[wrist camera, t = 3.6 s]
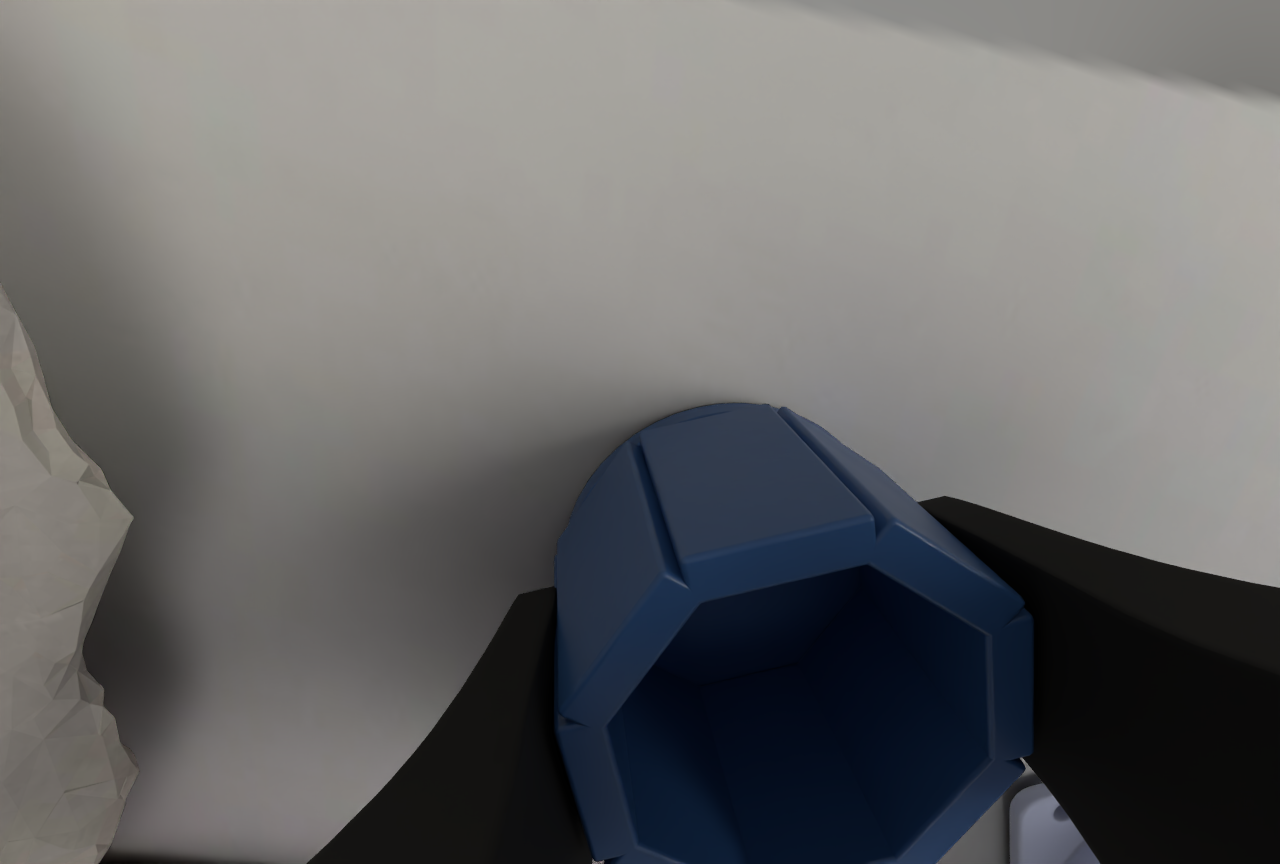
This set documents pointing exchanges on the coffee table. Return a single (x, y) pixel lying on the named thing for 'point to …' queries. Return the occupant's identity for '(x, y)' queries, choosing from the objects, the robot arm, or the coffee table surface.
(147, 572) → the coffee table surface
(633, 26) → the coffee table surface
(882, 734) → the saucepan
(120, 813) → the stone tool
